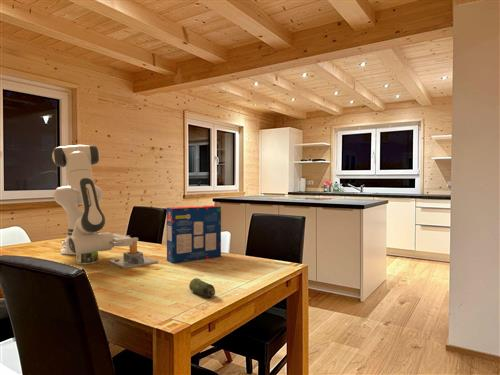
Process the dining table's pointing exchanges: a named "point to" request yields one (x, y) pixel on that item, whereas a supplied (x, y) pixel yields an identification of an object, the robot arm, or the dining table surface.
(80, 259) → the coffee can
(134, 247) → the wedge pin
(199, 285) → the vegetable
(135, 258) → the grey square base plate
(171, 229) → the blue board game box
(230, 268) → the dining table surface
